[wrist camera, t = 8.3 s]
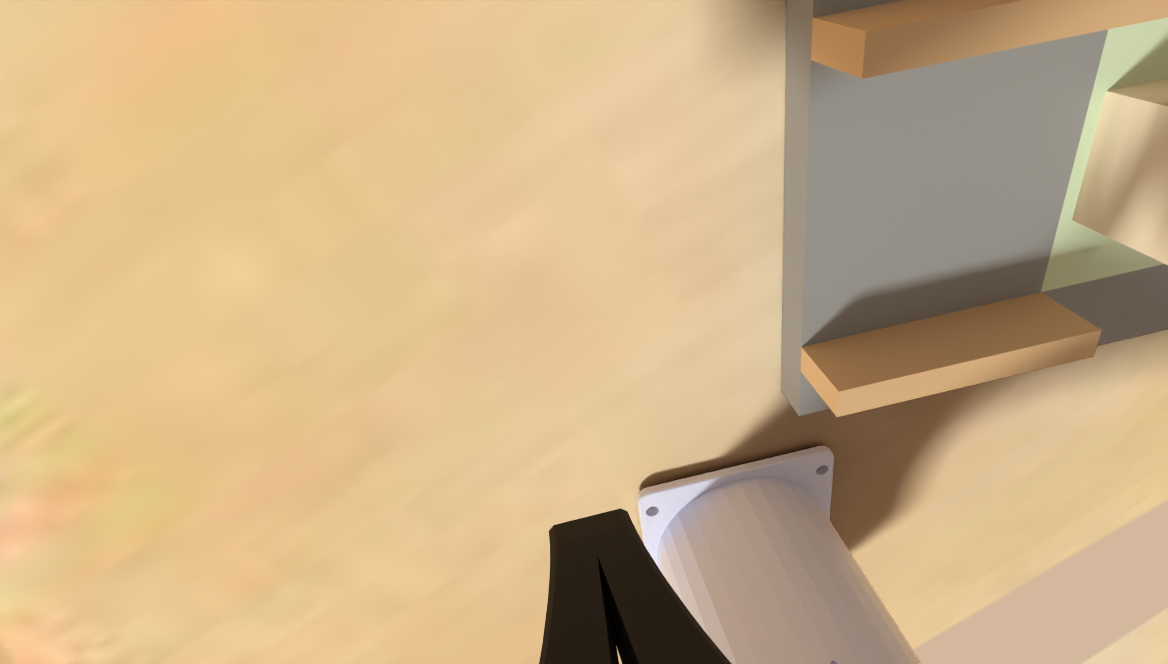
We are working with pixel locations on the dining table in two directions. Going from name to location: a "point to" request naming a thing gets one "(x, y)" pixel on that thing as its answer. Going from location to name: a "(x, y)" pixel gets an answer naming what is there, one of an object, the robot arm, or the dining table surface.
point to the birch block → (1129, 170)
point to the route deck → (952, 193)
